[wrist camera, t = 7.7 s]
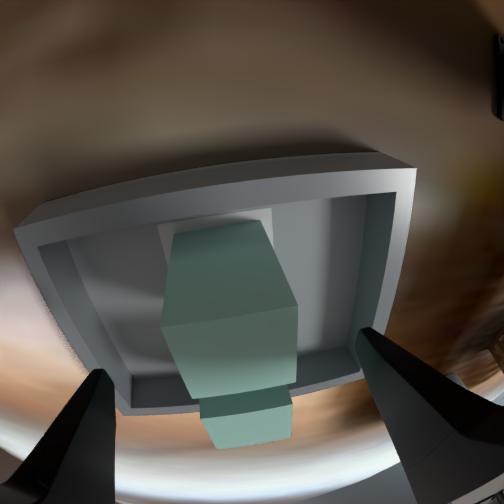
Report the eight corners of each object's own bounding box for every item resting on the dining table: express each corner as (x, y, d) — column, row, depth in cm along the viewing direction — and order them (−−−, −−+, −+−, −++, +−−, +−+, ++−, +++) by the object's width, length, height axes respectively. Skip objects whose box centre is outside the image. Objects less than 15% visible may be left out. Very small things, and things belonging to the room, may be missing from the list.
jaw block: (260, 220, 13) (298, 305, 8) (266, 289, 15) (296, 382, 10) (173, 233, 13) (160, 327, 8) (191, 301, 15) (192, 399, 10)
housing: (380, 151, 13) (474, 198, 8) (353, 345, 20) (390, 415, 15) (42, 202, 12) (-32, 276, 6) (127, 381, 19) (119, 459, 13)
